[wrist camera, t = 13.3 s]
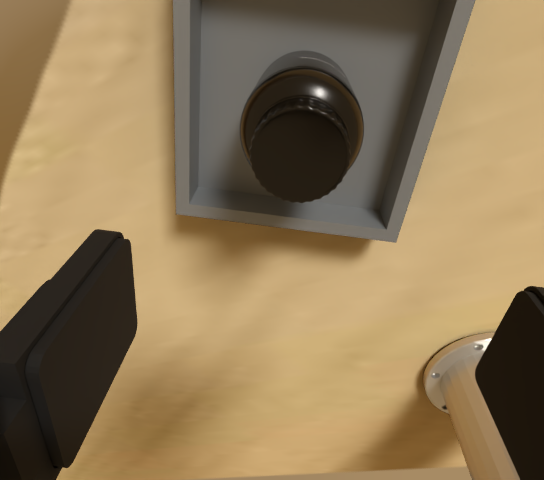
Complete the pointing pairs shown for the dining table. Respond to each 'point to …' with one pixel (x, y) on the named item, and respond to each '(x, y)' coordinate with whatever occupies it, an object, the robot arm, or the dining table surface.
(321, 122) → the supplement bottle
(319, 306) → the dining table surface
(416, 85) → the tray
